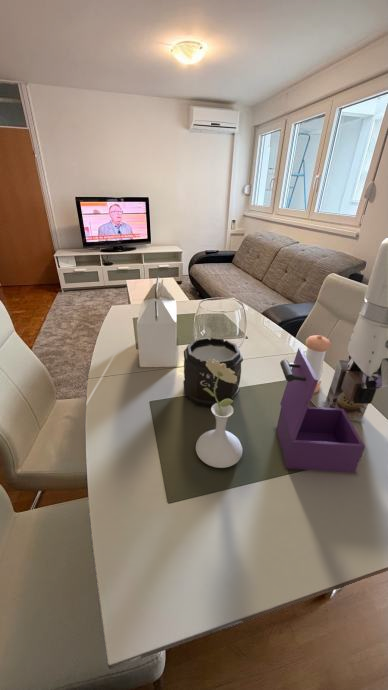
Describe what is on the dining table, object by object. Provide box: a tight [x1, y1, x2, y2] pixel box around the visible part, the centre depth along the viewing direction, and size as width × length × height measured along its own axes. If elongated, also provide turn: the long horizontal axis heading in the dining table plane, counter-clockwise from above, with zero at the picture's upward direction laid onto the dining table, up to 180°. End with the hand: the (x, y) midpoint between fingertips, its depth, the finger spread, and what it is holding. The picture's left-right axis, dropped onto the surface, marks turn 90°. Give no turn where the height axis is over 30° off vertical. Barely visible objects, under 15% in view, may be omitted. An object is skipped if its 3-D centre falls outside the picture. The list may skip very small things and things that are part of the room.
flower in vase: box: [195, 359, 243, 469], centre depth 68 cm, size 13×11×25 cm
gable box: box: [136, 276, 178, 368], centre depth 110 cm, size 22×13×28 cm, turn 3°
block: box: [341, 371, 378, 403], centre depth 60 cm, size 4×4×4 cm
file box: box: [276, 406, 366, 474], centre depth 73 cm, size 16×13×9 cm
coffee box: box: [324, 359, 377, 423], centre depth 84 cm, size 9×6×16 cm
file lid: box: [279, 347, 318, 441], centre depth 67 cm, size 16×13×5 cm
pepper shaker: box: [305, 334, 331, 394], centre depth 94 cm, size 7×7×19 cm
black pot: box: [183, 337, 244, 408], centre depth 92 cm, size 18×18×16 cm
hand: (356, 393), depth 61 cm, fingers closed on block, 4 cm apart
